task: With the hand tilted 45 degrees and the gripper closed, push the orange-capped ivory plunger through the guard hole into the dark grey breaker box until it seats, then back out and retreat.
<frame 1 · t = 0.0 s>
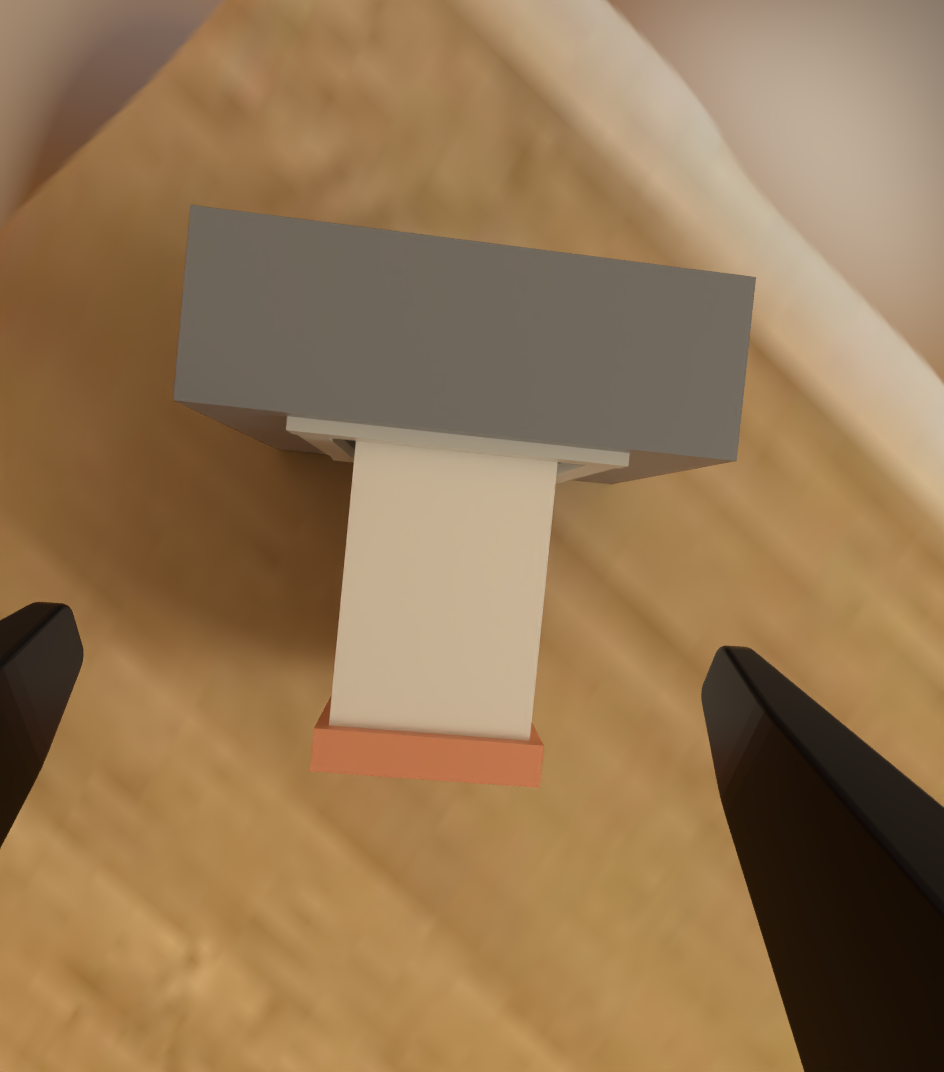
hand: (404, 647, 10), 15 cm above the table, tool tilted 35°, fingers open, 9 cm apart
breaker box: (452, 411, 24), on the table
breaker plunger: (443, 559, 19), point 5 cm above the table, slide at 0.0 cm
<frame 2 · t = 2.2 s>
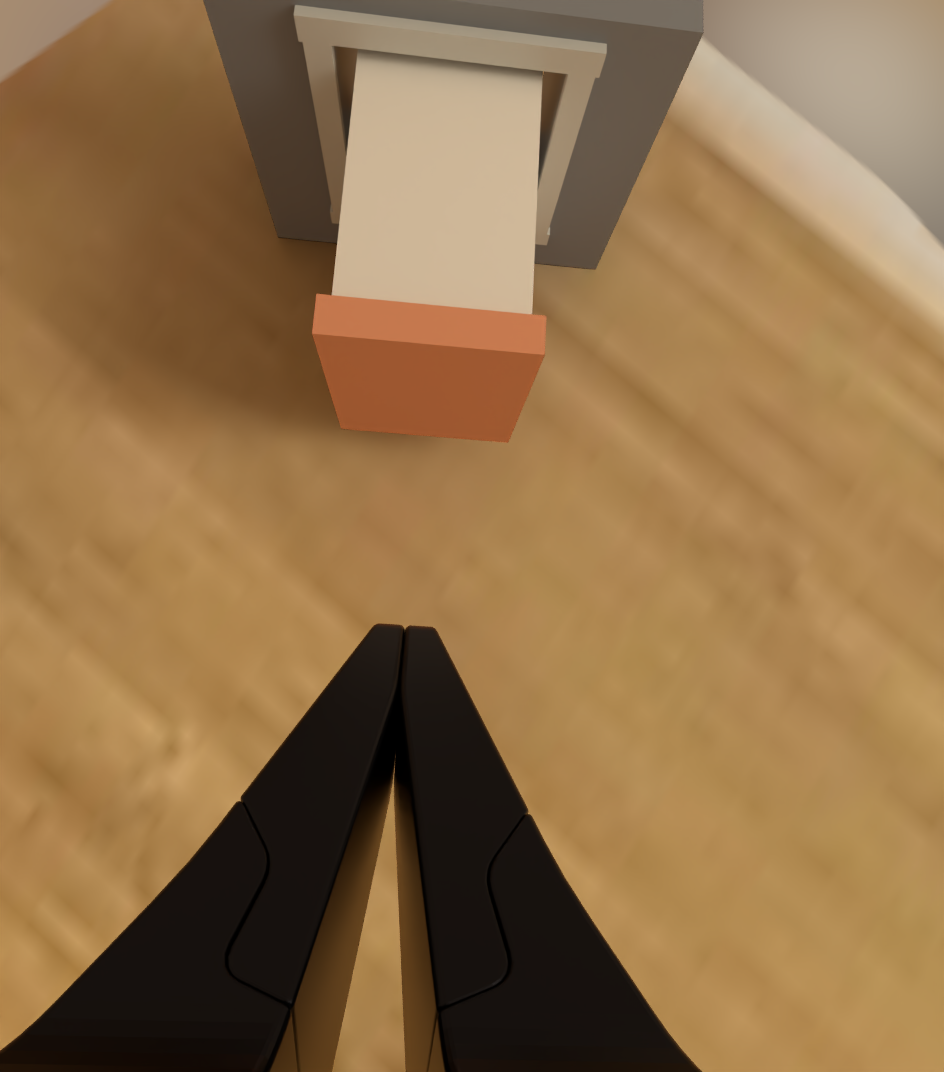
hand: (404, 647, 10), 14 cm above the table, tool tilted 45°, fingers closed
breaker box: (442, 206, 26), on the table
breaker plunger: (439, 236, 20), point 5 cm above the table, slide at 0.0 cm
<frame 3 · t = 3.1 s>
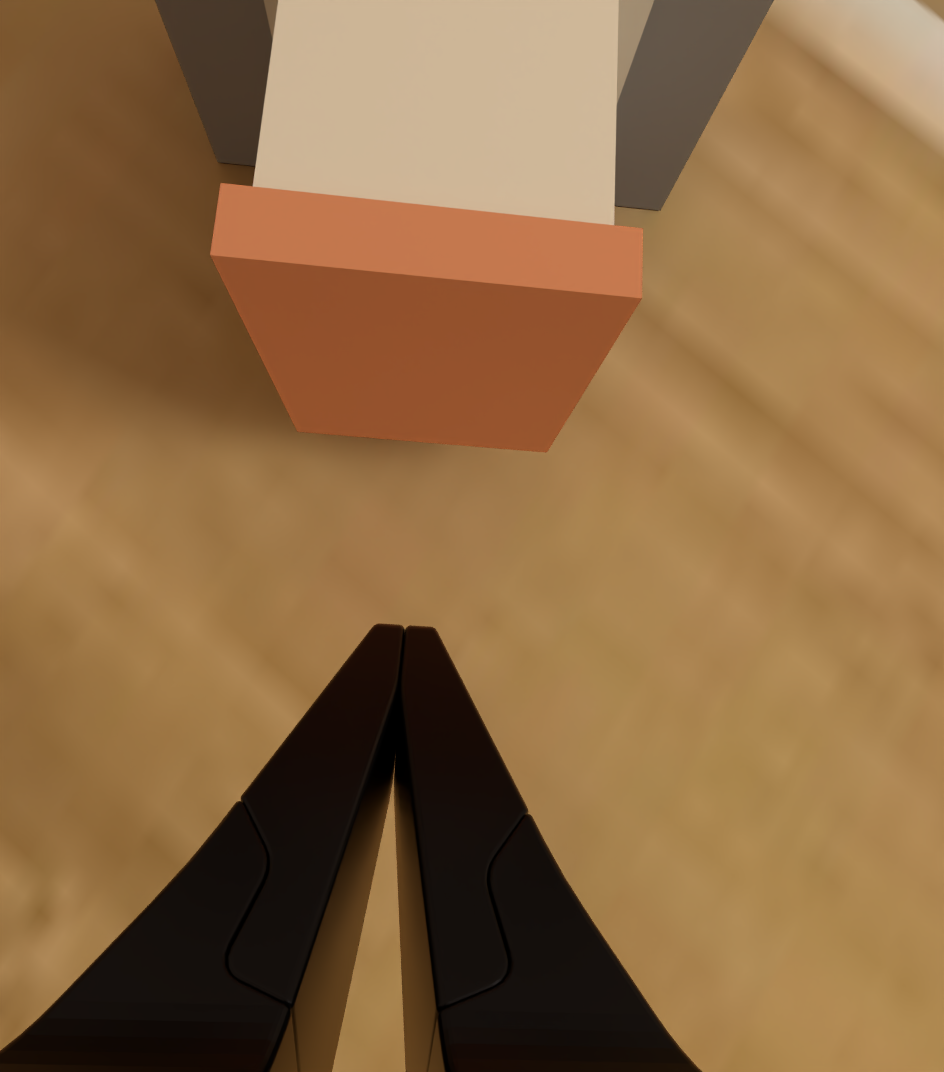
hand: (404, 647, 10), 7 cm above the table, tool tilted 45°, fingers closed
breaker box: (448, 123, 19), on the table
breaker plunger: (445, 128, 13), point 5 cm above the table, slide at 0.0 cm
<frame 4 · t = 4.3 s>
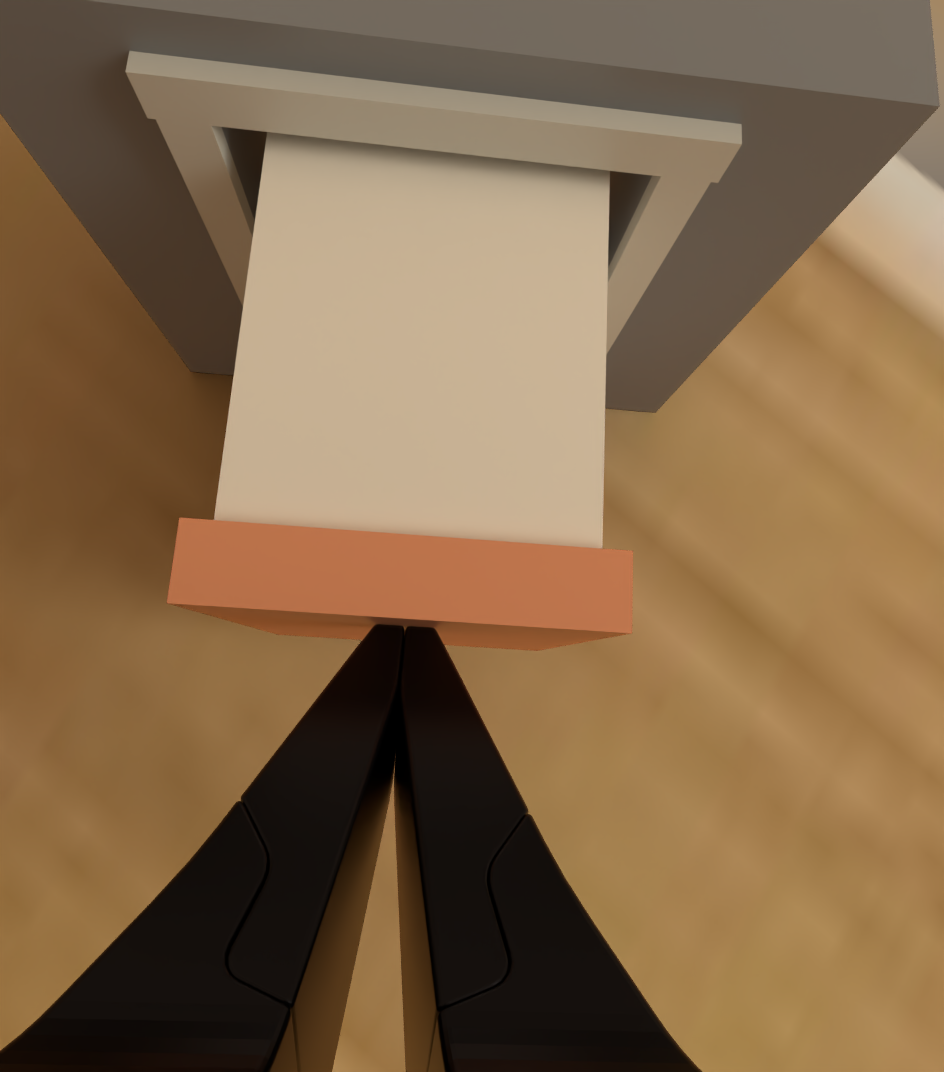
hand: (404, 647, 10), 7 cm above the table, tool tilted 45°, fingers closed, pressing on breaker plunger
breaker box: (434, 321, 18), on the table
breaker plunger: (429, 349, 12), point 5 cm above the table, slide at 1.5 cm, touching gripper
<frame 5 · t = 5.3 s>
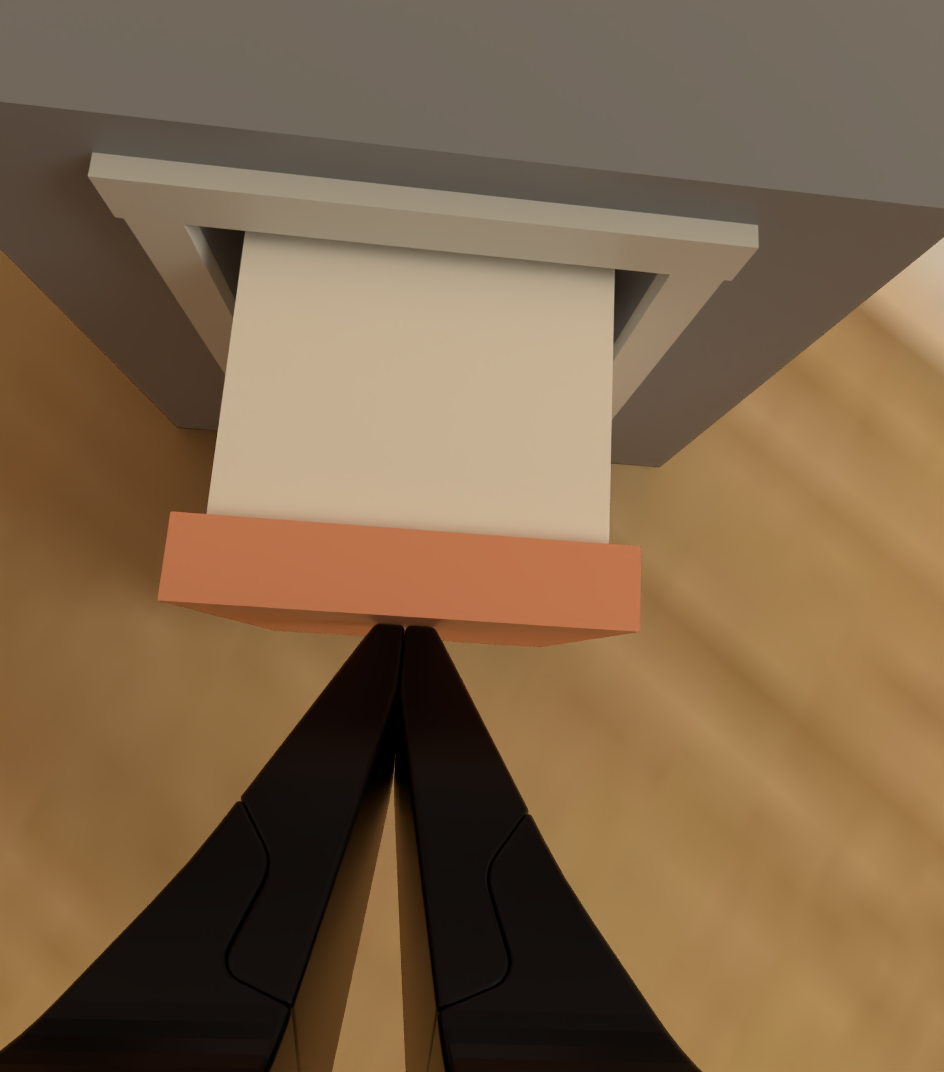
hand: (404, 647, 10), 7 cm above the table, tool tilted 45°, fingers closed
breaker box: (430, 372, 17), on the table
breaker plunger: (429, 338, 12), point 5 cm above the table, slide at 3.2 cm
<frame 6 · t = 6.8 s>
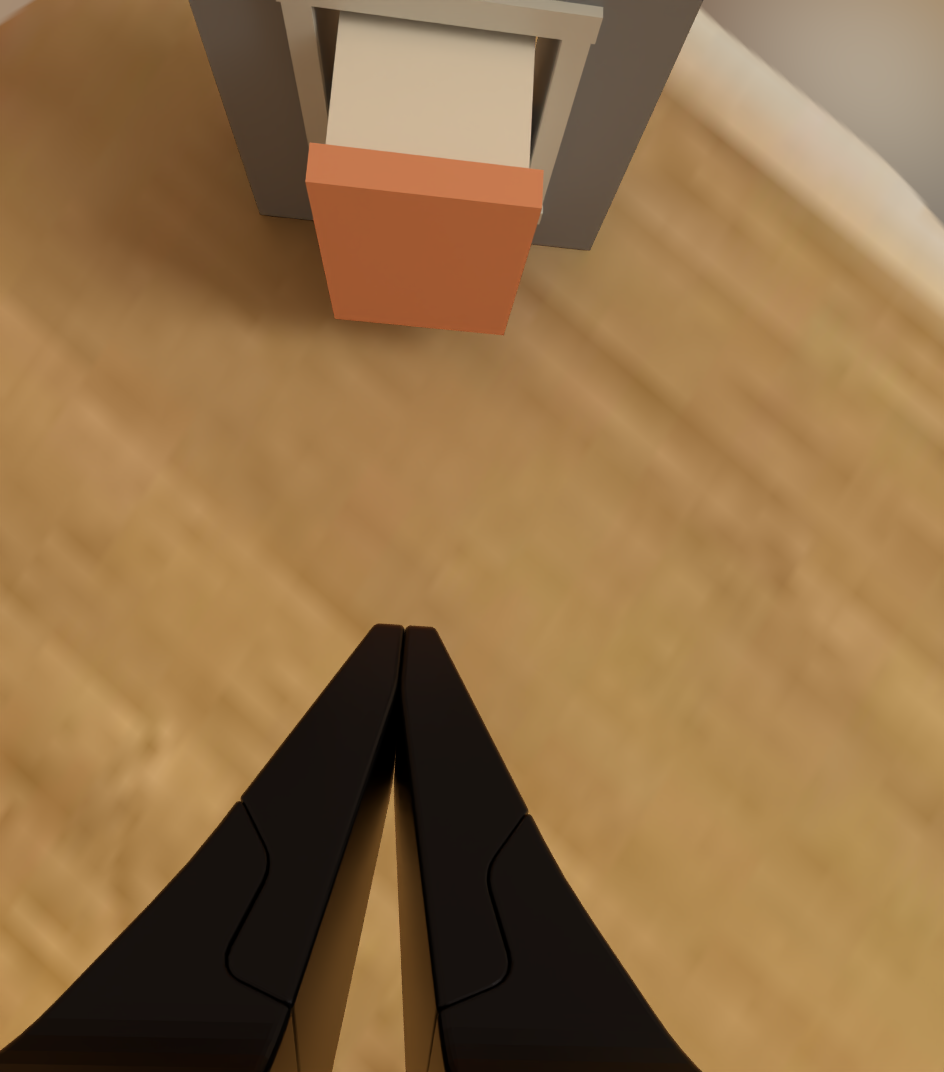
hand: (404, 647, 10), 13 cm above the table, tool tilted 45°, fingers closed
breaker box: (431, 183, 25), on the table
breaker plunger: (434, 112, 20), point 5 cm above the table, slide at 3.2 cm
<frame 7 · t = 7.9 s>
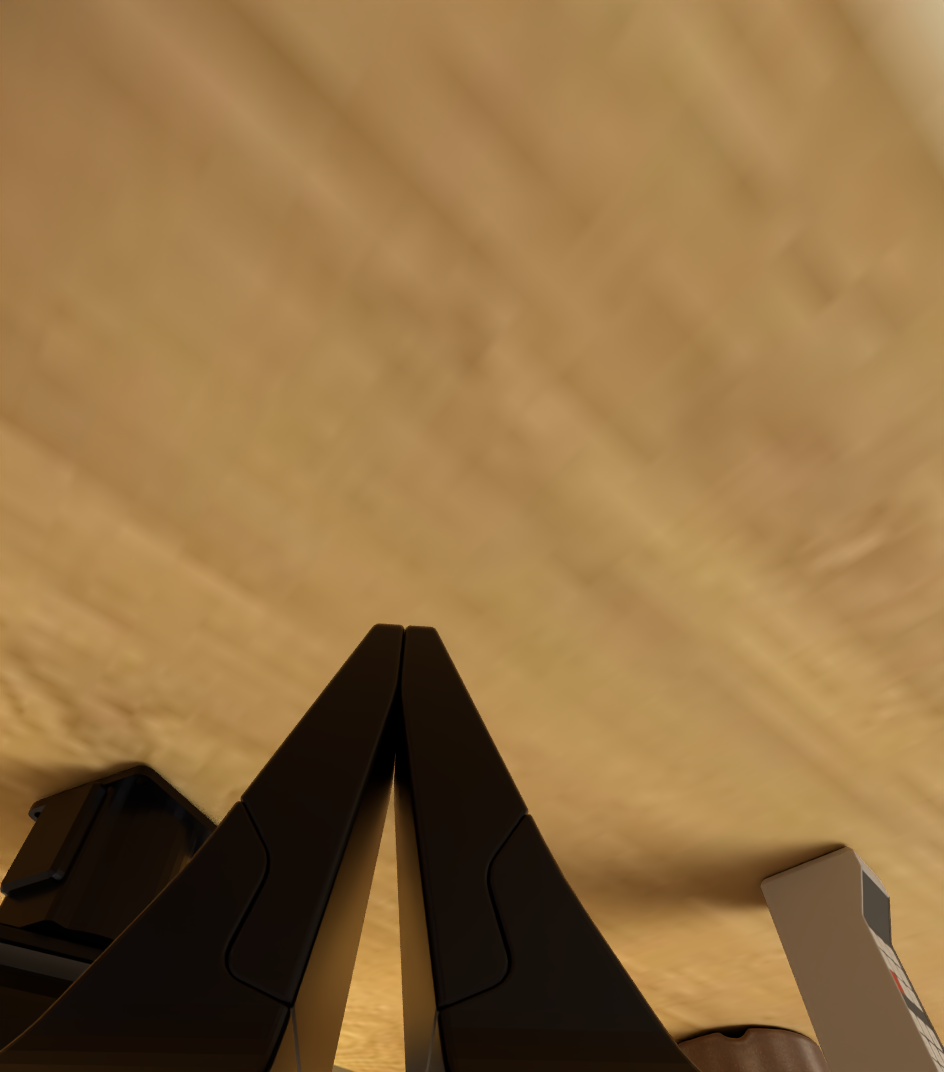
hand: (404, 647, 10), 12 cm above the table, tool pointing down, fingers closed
plant pot: (733, 1057, 49), on the table
vintage mobile phone: (815, 872, 36), on the table
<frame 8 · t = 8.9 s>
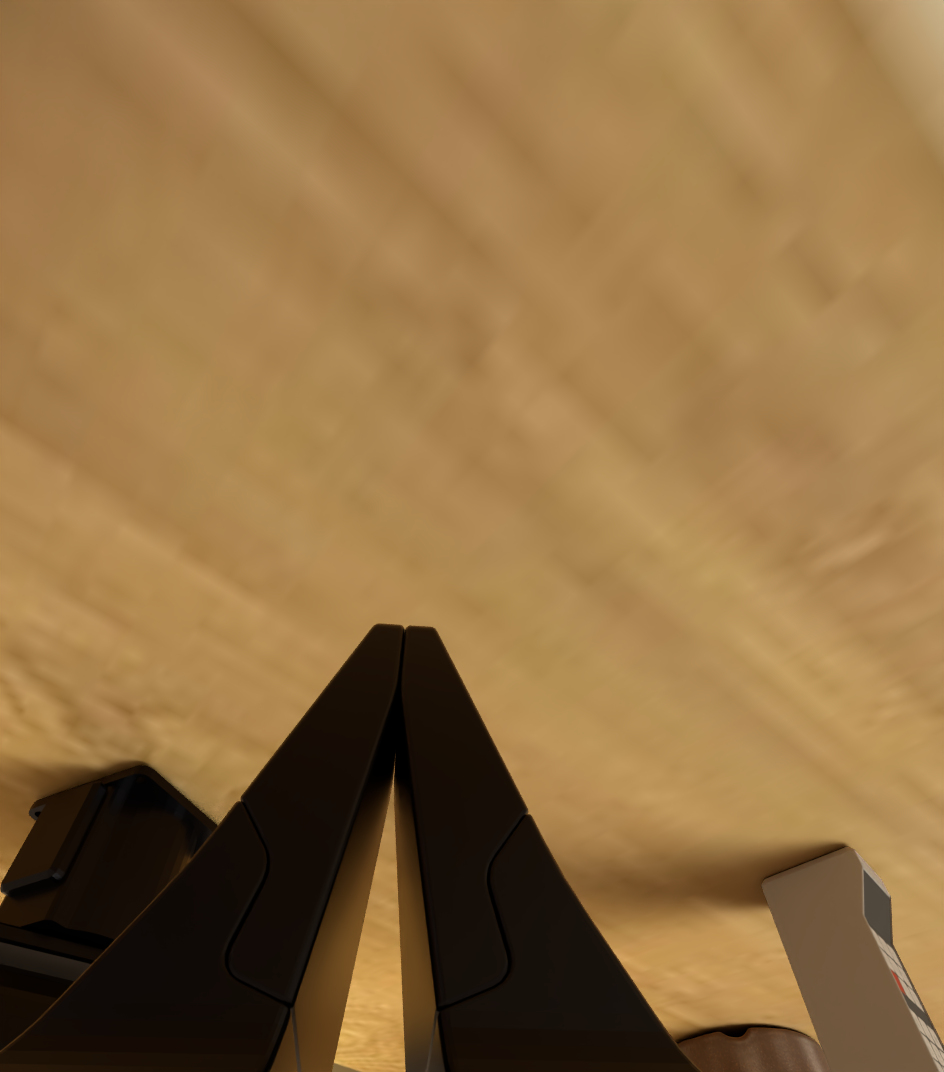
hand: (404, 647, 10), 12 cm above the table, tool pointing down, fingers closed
plant pot: (734, 1056, 49), on the table
vintage mobile phone: (817, 872, 35), on the table
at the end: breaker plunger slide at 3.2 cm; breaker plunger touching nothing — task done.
